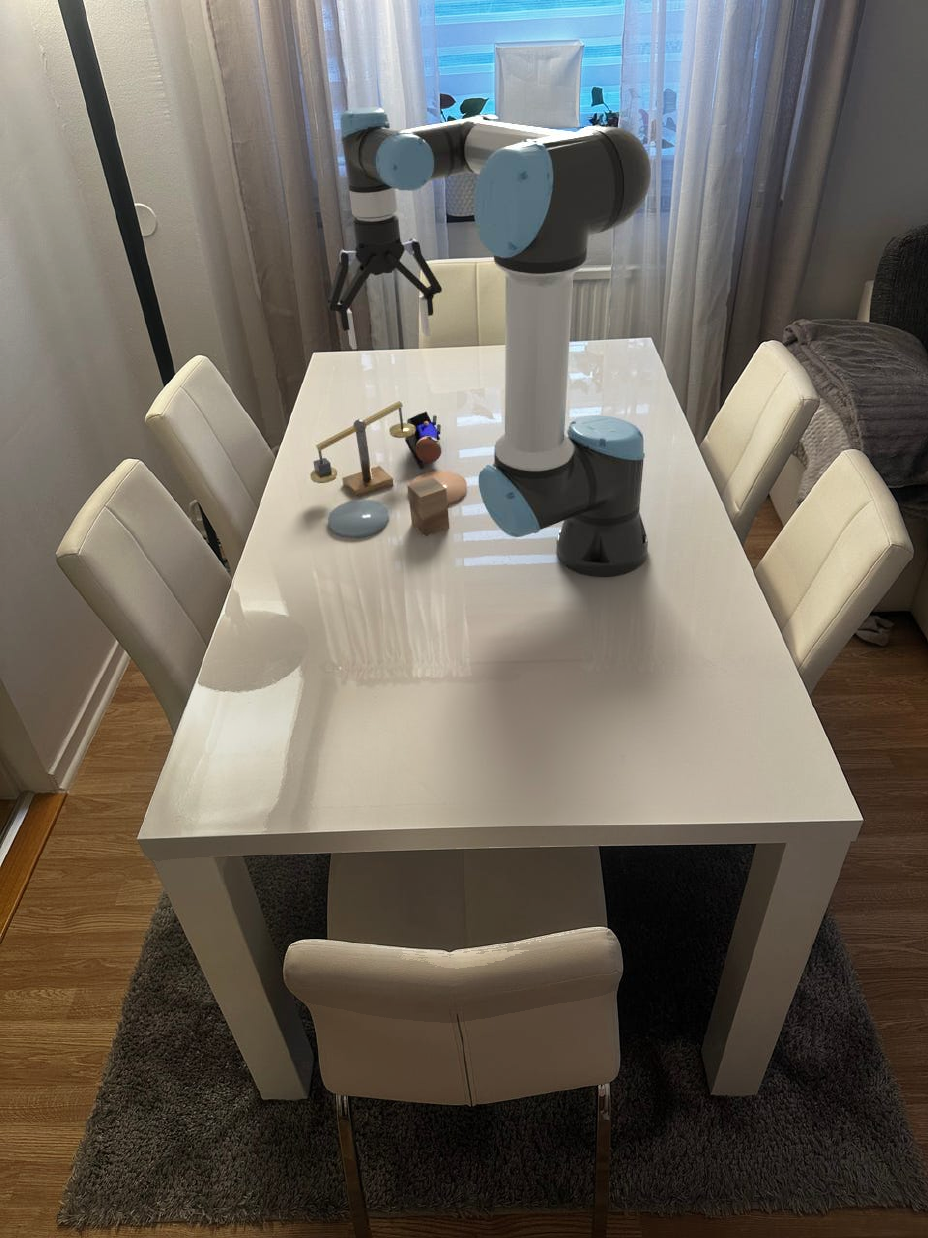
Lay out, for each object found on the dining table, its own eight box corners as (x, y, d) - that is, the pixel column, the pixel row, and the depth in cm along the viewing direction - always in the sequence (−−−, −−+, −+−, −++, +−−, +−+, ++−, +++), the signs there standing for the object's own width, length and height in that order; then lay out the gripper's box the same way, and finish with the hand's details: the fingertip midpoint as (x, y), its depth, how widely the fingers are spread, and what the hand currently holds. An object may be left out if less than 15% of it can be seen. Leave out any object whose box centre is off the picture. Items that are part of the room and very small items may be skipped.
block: (449, 527, 159) (446, 488, 154) (424, 536, 157) (420, 497, 152) (436, 515, 163) (432, 476, 158) (411, 523, 161) (407, 485, 156)
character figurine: (444, 438, 187) (441, 474, 175) (409, 437, 187) (404, 473, 175) (444, 403, 182) (440, 438, 170) (408, 402, 182) (403, 437, 170)
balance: (425, 474, 175) (418, 404, 165) (322, 508, 167) (308, 437, 158) (411, 462, 179) (403, 393, 170) (310, 495, 171) (296, 424, 162)
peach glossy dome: (477, 494, 168) (477, 488, 167) (426, 512, 164) (425, 506, 163) (449, 470, 175) (448, 465, 174) (399, 487, 171) (398, 481, 171)
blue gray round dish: (399, 524, 161) (398, 519, 160) (343, 544, 157) (342, 538, 156) (373, 499, 168) (372, 493, 168) (319, 517, 165) (318, 511, 164)
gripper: (440, 199, 153) (449, 321, 166) (297, 220, 148) (318, 345, 161) (453, 209, 147) (461, 334, 161) (304, 231, 143) (326, 359, 156)
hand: (390, 340), depth 161 cm, fingers open, 13 cm apart
